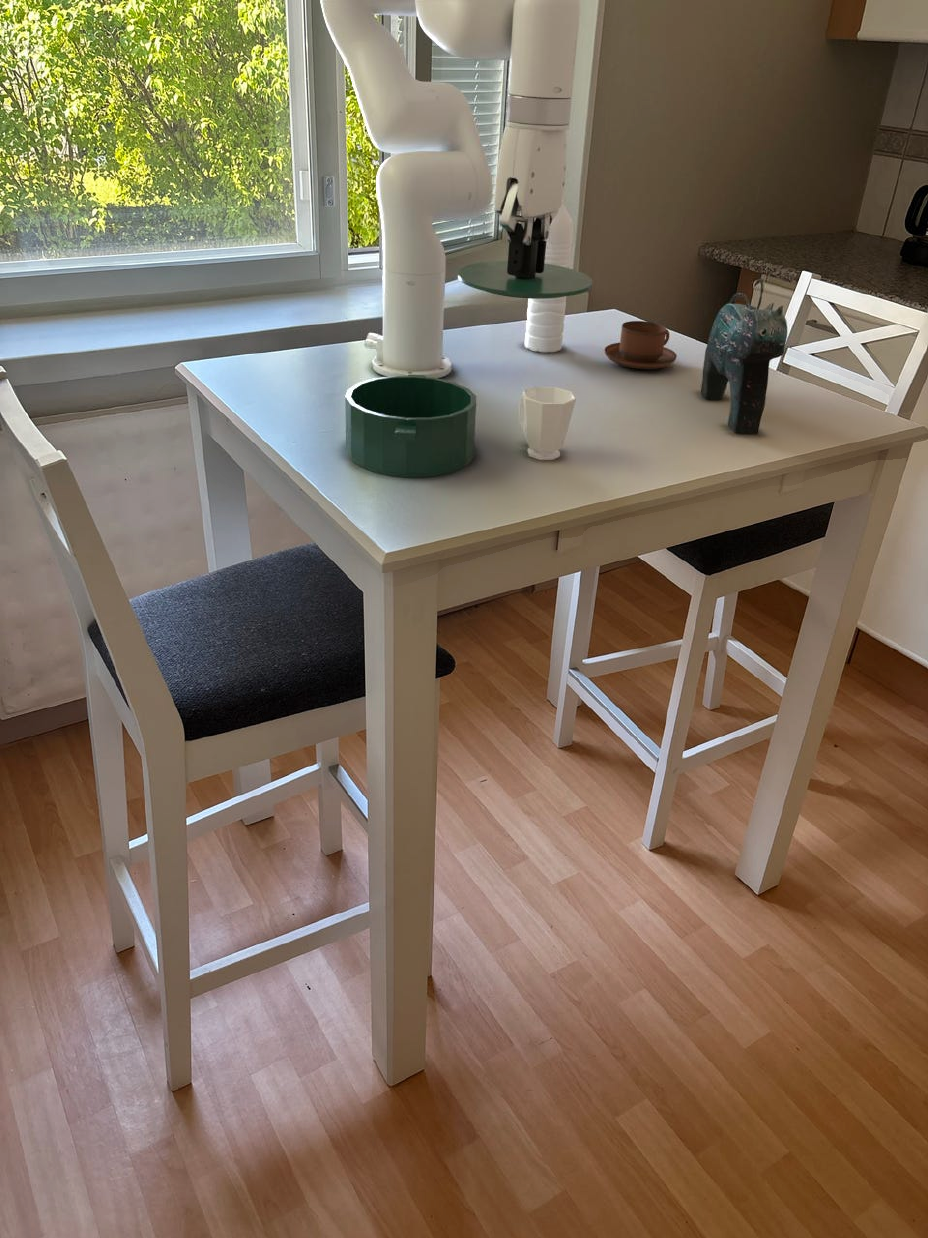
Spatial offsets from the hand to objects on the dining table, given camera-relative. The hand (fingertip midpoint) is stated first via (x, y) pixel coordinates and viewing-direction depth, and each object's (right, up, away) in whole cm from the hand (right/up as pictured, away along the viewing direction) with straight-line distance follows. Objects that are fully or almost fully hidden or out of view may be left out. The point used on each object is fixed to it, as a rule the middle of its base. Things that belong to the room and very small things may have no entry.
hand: (525, 272), depth 126 cm
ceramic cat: (+31, -14, +20) cm, 40 cm away
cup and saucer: (+22, -2, +40) cm, 45 cm away
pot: (-15, -23, +2) cm, 27 cm away
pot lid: (0, -1, +1) cm, 1 cm away
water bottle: (+5, +3, +46) cm, 46 cm away
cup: (+2, -22, +5) cm, 23 cm away
